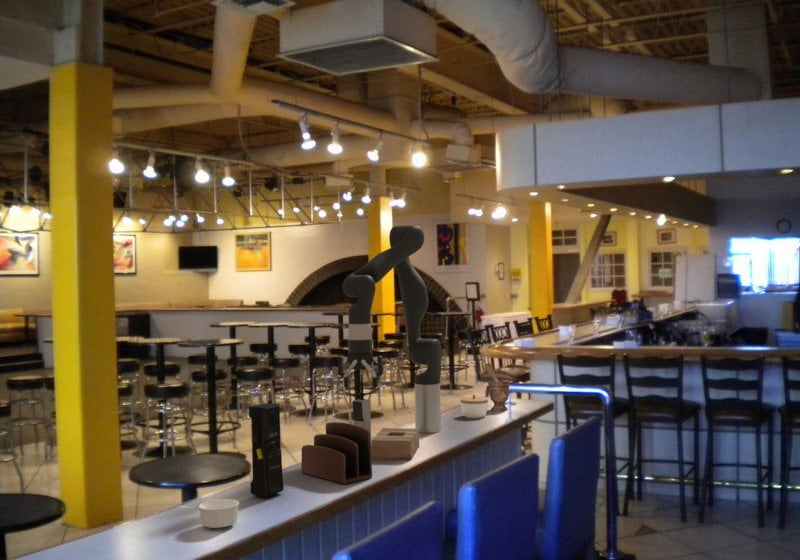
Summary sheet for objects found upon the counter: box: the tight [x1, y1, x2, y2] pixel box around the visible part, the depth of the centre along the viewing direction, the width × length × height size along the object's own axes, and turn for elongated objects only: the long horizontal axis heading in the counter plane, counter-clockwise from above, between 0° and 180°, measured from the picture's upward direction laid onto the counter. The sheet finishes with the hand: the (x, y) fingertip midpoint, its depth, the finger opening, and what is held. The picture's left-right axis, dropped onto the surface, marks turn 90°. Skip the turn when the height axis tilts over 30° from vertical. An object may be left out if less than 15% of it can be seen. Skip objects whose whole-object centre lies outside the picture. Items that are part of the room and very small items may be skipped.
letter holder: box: [300, 421, 373, 485], centre depth 218 cm, size 10×20×14 cm, turn 43°
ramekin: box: [198, 498, 240, 529], centre depth 175 cm, size 9×9×4 cm
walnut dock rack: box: [371, 427, 420, 461], centre depth 245 cm, size 20×12×6 cm, turn 171°
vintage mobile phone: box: [351, 373, 372, 446], centre depth 247 cm, size 4×5×25 cm
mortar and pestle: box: [484, 362, 510, 412], centre depth 321 cm, size 12×9×20 cm
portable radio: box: [248, 393, 284, 498], centre depth 199 cm, size 8×6×25 cm
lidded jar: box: [460, 394, 489, 419], centre depth 306 cm, size 11×11×9 cm
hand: (361, 389), depth 247 cm, fingers open, 8 cm apart
